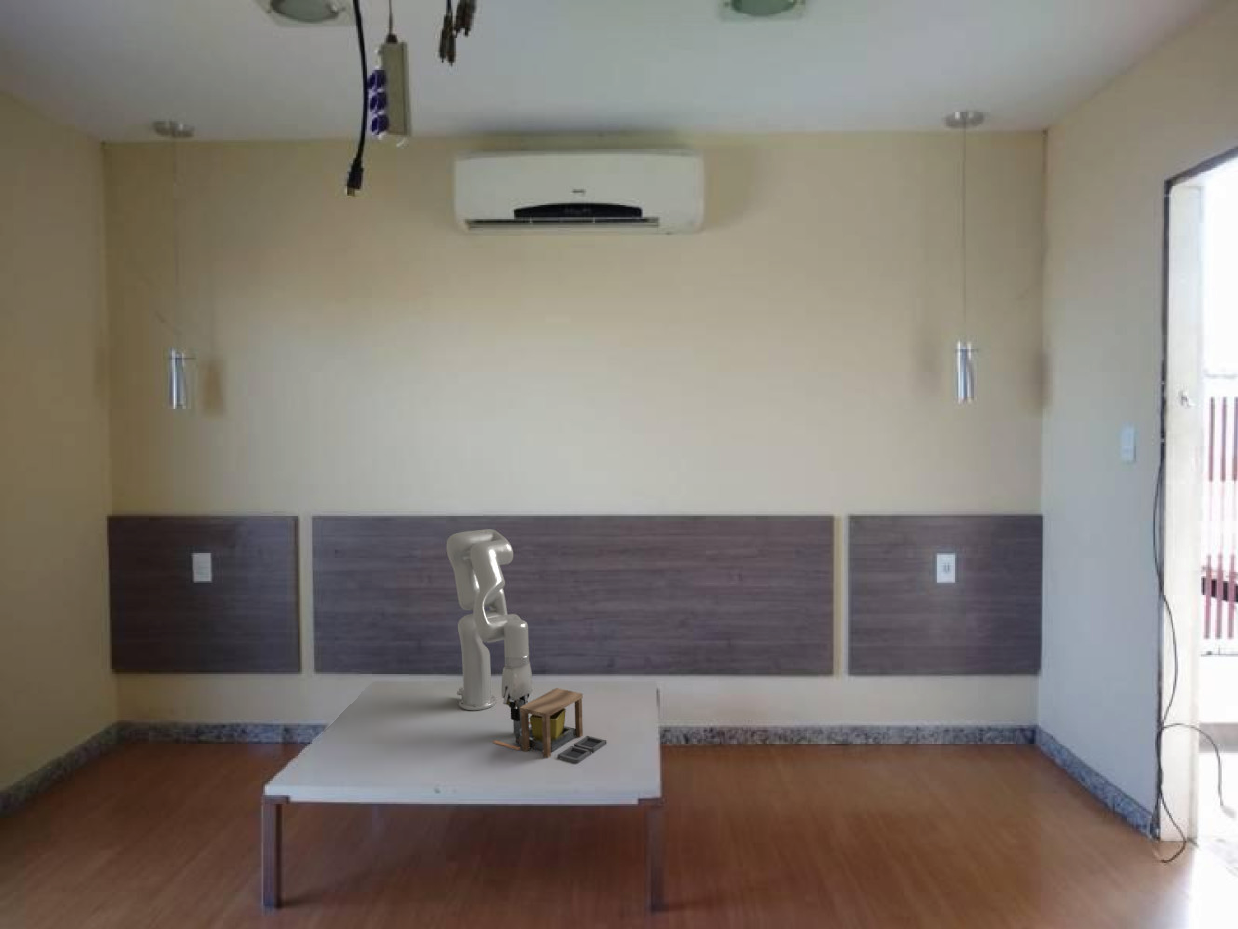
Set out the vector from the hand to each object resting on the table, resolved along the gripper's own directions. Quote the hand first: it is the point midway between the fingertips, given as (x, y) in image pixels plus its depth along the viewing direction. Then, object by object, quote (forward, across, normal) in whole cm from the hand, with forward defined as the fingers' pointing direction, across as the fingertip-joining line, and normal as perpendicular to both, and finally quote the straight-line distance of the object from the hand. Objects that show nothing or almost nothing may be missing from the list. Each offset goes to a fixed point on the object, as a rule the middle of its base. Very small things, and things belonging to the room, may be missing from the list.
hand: (518, 717), depth 236 cm
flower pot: (+5, 0, +11) cm, 13 cm away
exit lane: (+5, 0, +2) cm, 6 cm away
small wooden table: (+5, 0, +13) cm, 14 cm away
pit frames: (+5, 0, +24) cm, 25 cm away
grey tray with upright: (+5, 0, +8) cm, 9 cm away
